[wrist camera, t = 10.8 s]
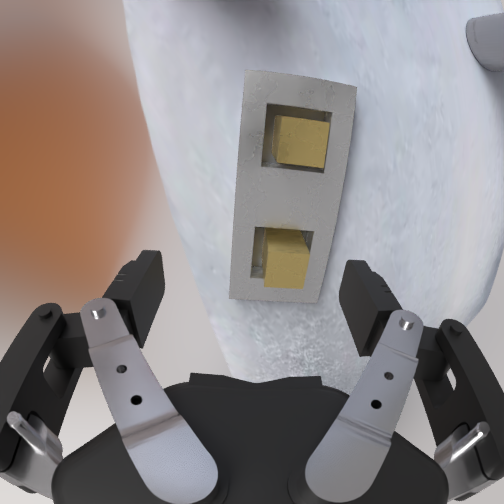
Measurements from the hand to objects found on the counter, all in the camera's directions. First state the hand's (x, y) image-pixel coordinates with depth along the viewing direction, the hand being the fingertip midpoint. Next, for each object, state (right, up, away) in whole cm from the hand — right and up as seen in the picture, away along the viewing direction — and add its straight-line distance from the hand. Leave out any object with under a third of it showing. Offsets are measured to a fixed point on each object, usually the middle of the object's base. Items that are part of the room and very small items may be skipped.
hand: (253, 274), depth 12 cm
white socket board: (+4, +8, +22) cm, 24 cm away
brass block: (+4, +2, +25) cm, 26 cm away
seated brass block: (+5, +14, +19) cm, 24 cm away
